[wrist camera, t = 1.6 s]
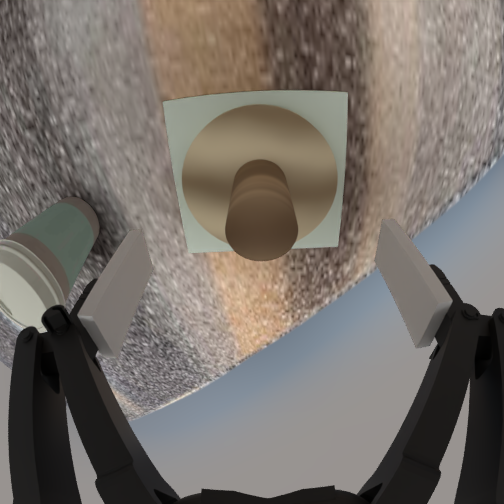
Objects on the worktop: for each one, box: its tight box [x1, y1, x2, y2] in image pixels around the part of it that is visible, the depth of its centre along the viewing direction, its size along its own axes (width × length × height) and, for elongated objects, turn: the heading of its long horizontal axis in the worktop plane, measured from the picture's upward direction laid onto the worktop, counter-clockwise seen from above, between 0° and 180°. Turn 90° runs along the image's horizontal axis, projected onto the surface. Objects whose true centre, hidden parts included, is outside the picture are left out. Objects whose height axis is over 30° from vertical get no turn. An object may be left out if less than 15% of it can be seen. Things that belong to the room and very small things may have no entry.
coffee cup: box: [0, 197, 99, 333], centre depth 21 cm, size 8×8×12 cm
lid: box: [182, 104, 338, 261], centre depth 19 cm, size 12×12×8 cm
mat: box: [163, 90, 348, 253], centre depth 23 cm, size 14×14×1 cm
